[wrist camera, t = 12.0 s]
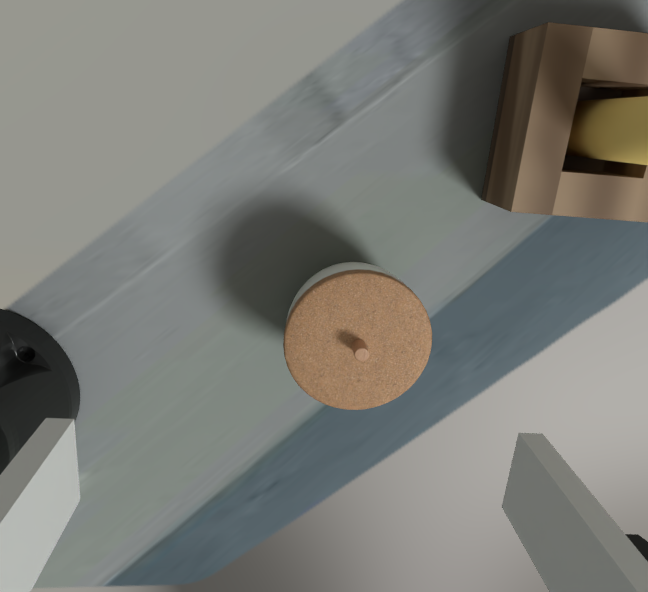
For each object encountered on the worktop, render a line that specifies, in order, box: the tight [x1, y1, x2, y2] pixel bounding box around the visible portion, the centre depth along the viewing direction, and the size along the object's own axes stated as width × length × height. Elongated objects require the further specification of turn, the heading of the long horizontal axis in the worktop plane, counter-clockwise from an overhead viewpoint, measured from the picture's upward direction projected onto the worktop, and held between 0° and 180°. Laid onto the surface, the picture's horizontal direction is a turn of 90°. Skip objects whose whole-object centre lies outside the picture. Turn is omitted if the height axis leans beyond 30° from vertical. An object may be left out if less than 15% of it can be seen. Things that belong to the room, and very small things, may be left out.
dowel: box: [565, 96, 648, 165], centre depth 34 cm, size 4×4×14 cm
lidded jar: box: [283, 262, 432, 410], centre depth 40 cm, size 11×11×9 cm
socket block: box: [481, 22, 648, 222], centre depth 38 cm, size 12×12×6 cm
